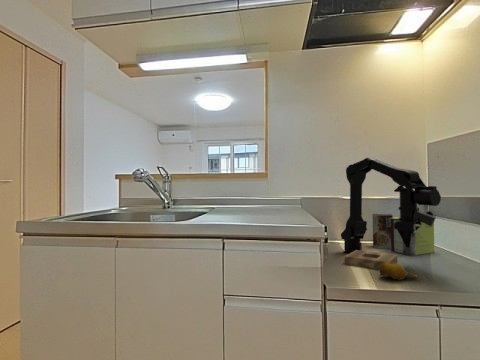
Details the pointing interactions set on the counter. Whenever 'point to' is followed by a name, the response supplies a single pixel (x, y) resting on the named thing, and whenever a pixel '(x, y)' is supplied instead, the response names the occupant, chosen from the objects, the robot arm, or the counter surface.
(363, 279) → the counter surface
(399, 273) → the fruit
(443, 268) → the counter surface
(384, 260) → the dock
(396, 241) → the protein box
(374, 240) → the coffee box
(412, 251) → the grey and teal cylinder
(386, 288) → the counter surface
